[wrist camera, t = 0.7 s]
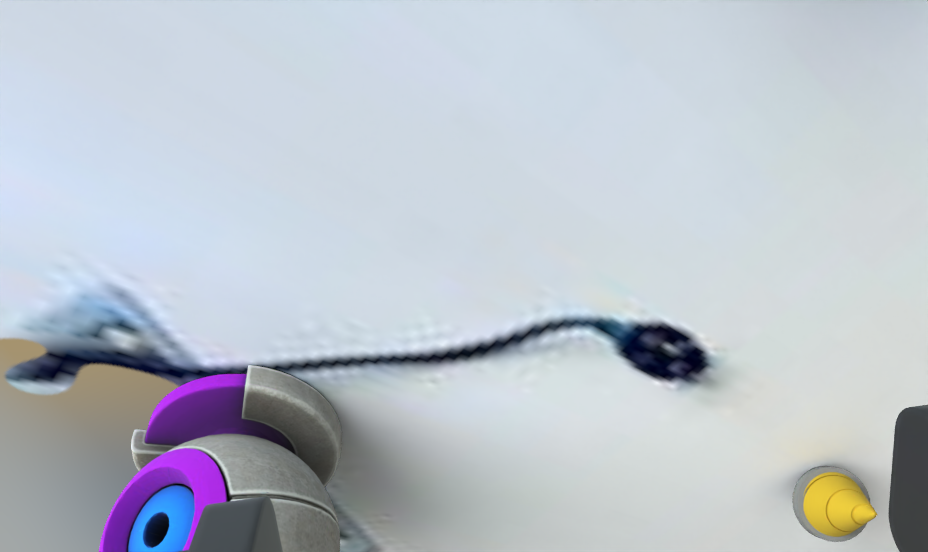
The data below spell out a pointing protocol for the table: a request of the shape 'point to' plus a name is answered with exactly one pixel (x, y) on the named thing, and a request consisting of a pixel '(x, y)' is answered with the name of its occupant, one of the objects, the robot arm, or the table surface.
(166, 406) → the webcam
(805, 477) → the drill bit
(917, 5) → the table surface
